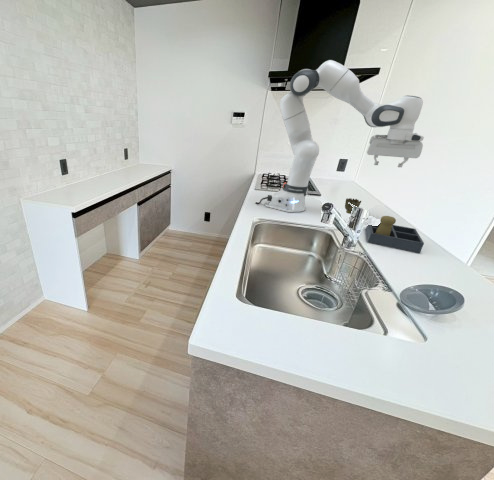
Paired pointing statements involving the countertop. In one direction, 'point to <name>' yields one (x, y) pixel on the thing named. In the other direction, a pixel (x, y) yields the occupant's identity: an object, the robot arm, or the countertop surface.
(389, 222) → the cork
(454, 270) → the countertop surface
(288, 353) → the countertop surface
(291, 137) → the robot arm
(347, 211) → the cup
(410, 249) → the grid
